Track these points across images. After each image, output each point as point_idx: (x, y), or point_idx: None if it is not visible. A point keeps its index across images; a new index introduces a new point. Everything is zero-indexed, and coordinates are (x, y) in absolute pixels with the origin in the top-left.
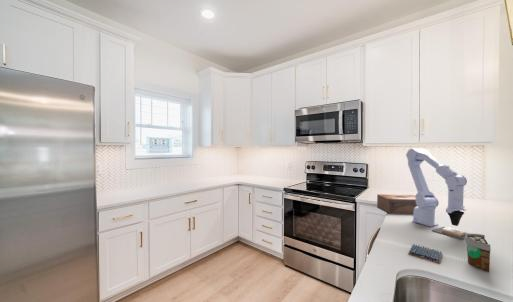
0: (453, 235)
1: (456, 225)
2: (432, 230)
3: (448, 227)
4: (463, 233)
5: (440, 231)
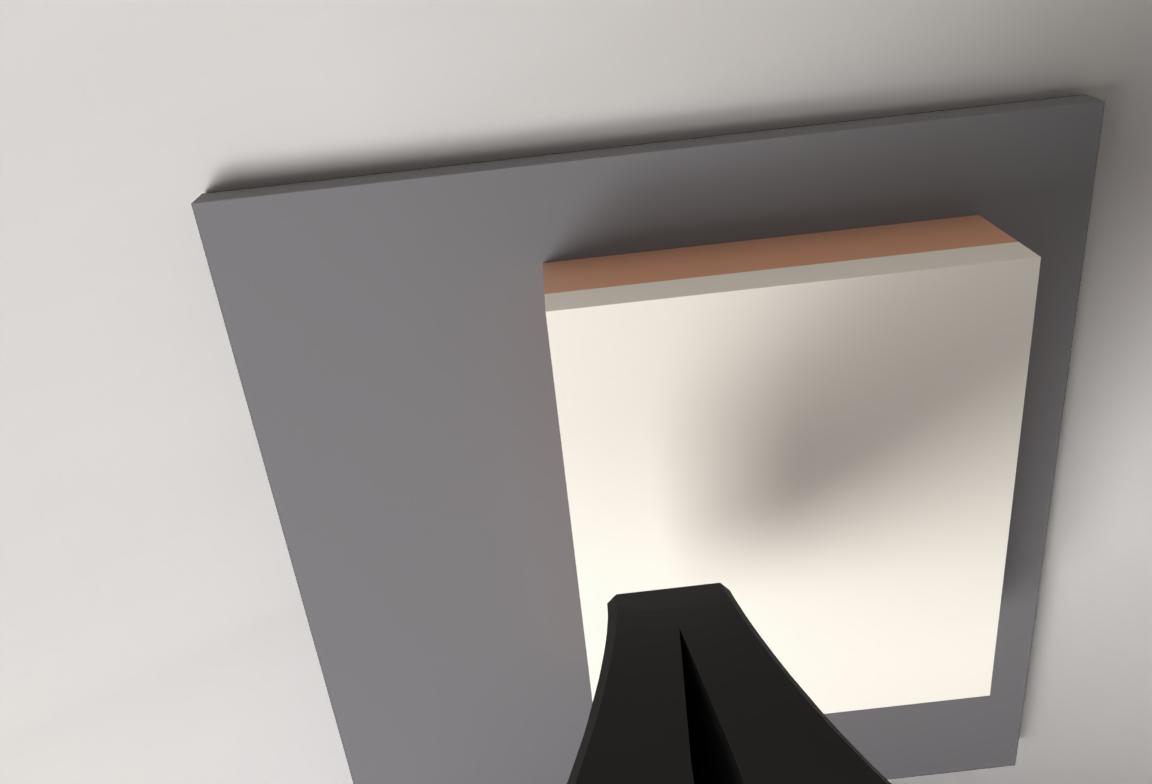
0: None
1: (730, 603)
2: (1011, 751)
3: None
4: (683, 274)
5: None
